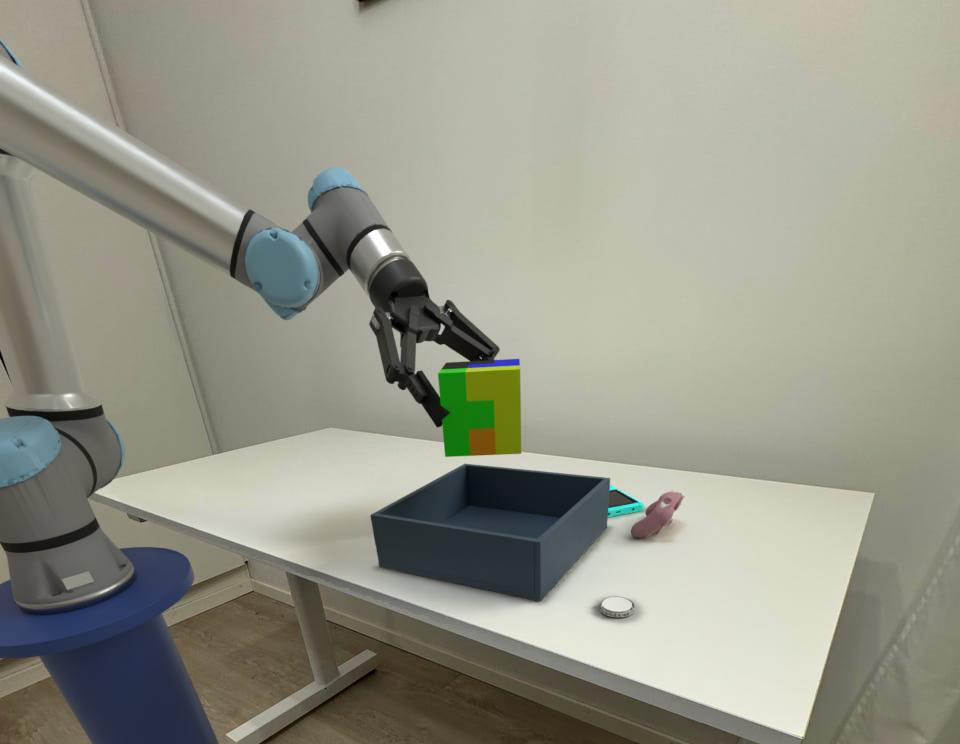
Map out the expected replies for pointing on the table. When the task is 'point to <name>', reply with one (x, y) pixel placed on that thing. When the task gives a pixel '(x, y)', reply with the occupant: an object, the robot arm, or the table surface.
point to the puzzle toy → (481, 407)
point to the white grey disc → (616, 606)
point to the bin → (494, 528)
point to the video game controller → (657, 515)
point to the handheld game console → (622, 503)
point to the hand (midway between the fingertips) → (478, 410)
